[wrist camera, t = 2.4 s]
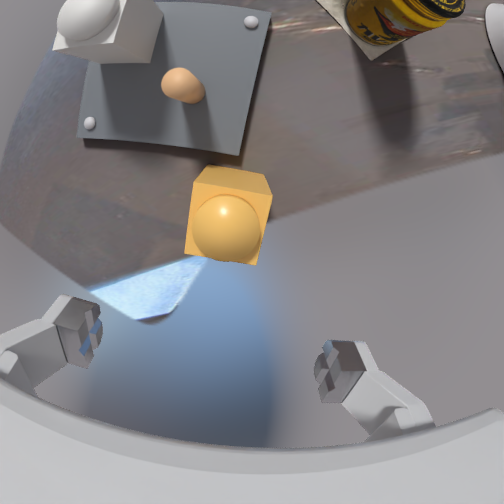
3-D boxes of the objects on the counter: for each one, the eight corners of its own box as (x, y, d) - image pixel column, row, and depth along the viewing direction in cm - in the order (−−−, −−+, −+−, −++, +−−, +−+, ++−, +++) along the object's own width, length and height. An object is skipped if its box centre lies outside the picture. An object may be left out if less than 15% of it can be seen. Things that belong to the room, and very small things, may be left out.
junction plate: (270, 17, 19) (286, -35, 10) (238, 154, 25) (237, 173, 16) (109, 9, 17) (57, -25, 8) (82, 136, 23) (16, 151, 14)
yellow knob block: (263, 174, 26) (274, 200, 17) (252, 226, 28) (256, 272, 20) (207, 164, 25) (191, 185, 17) (199, 216, 27) (182, 259, 19)
